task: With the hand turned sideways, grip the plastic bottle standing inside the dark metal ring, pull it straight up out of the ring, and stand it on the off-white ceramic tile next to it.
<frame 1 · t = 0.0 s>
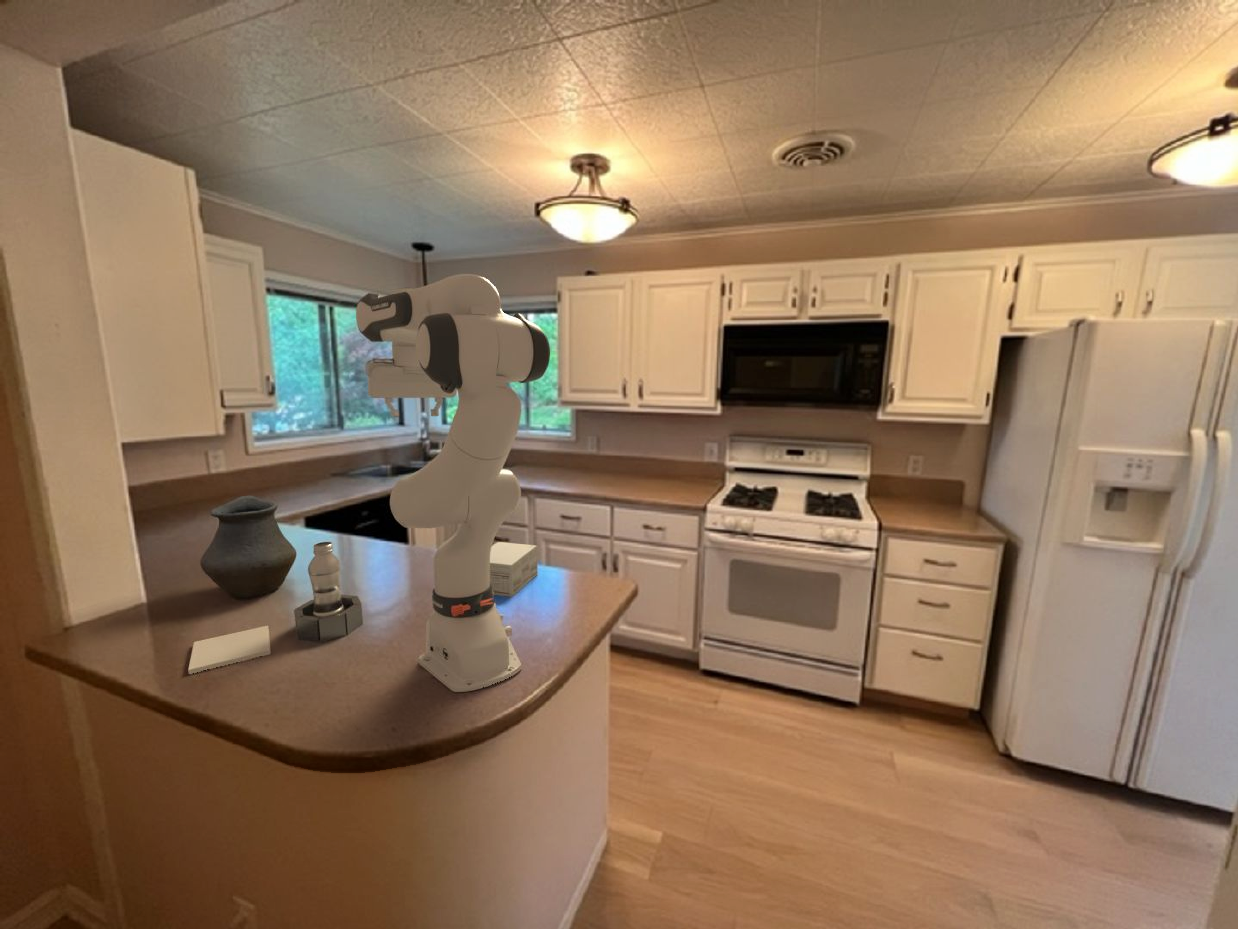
hand: (415, 416, 123), 48 cm above the table, tool pointing down, fingers open, 8 cm apart
plastic bottle: (329, 627, 116), resting in metal ring
supplement box: (504, 584, 143), on the table
metal ring: (329, 627, 116), on the table
ceramic tile: (232, 650, 105), on the table
dark grey clay pot: (254, 591, 136), on the table
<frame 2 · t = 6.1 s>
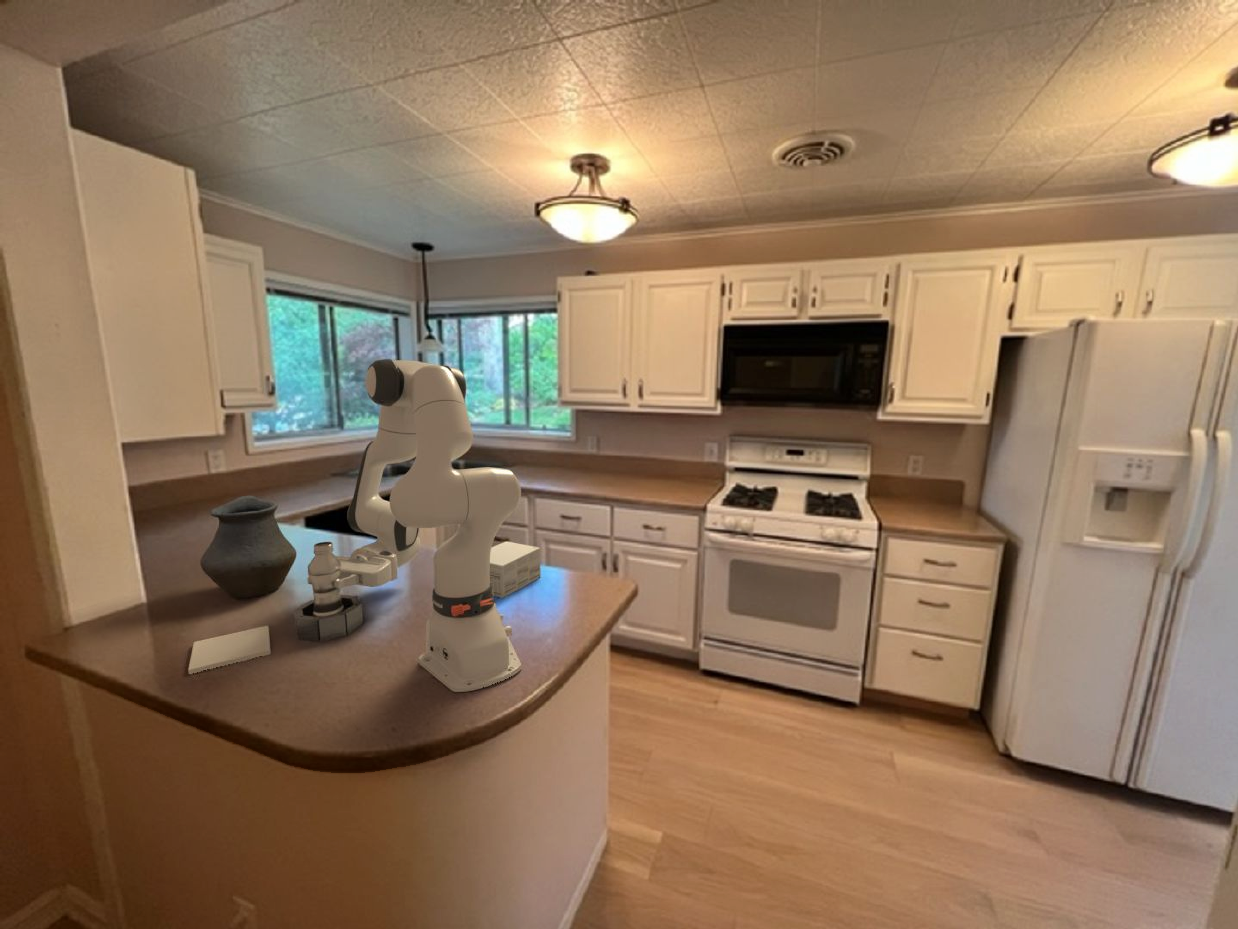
hand: (322, 583, 113), 11 cm above the table, tool horizontal, fingers closed on plastic bottle, 6 cm apart
plastic bottle: (329, 627, 116), resting in metal ring, touching gripper
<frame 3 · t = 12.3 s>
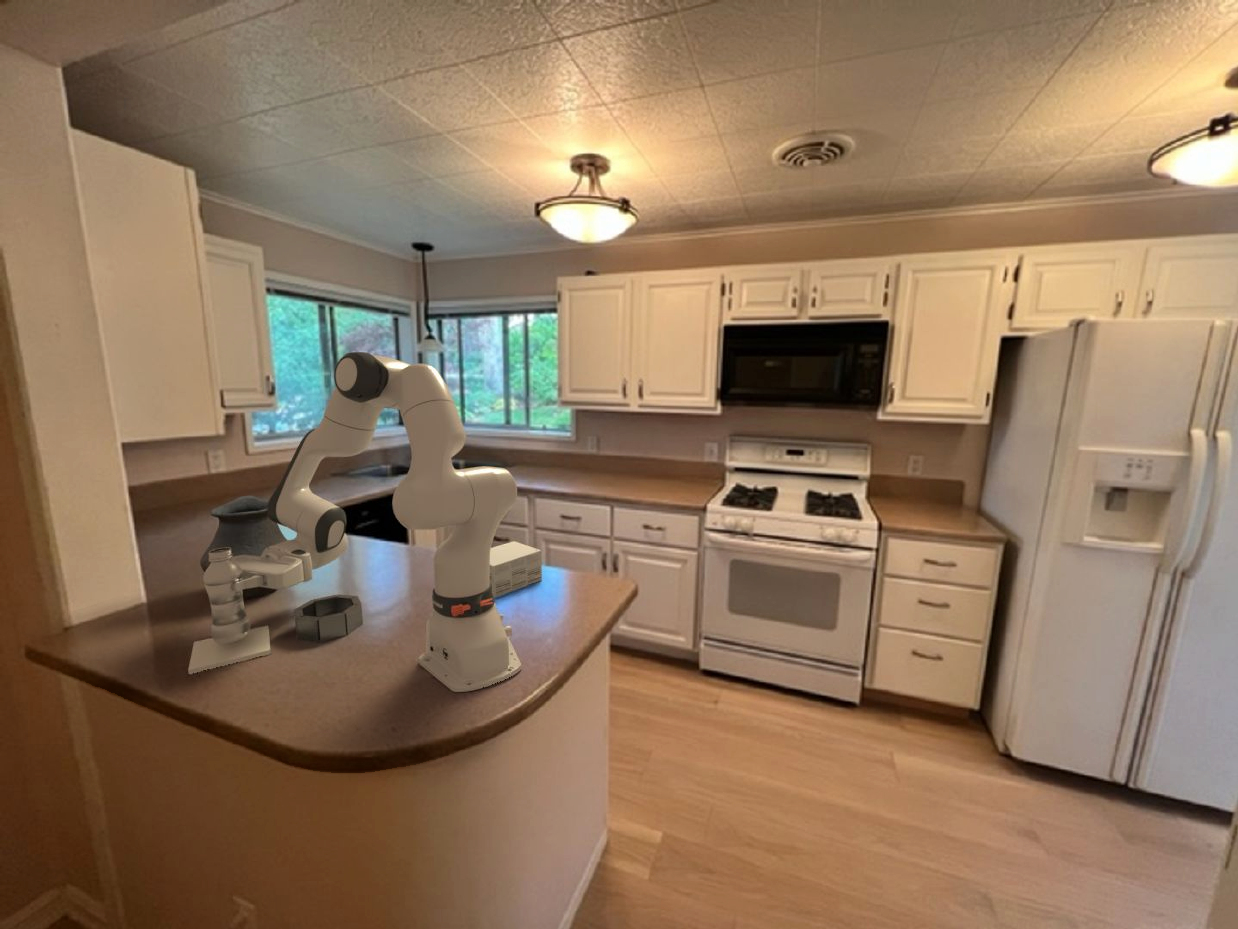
hand: (220, 585, 102), 15 cm above the table, tool horizontal, fingers closed on plastic bottle, 6 cm apart
plastic bottle: (232, 641, 106), point 2 cm above the table, touching gripper
when the fingers open (14 cm above the table, at t = 13.5 s): plastic bottle stays where it is, resting on ceramic tile.
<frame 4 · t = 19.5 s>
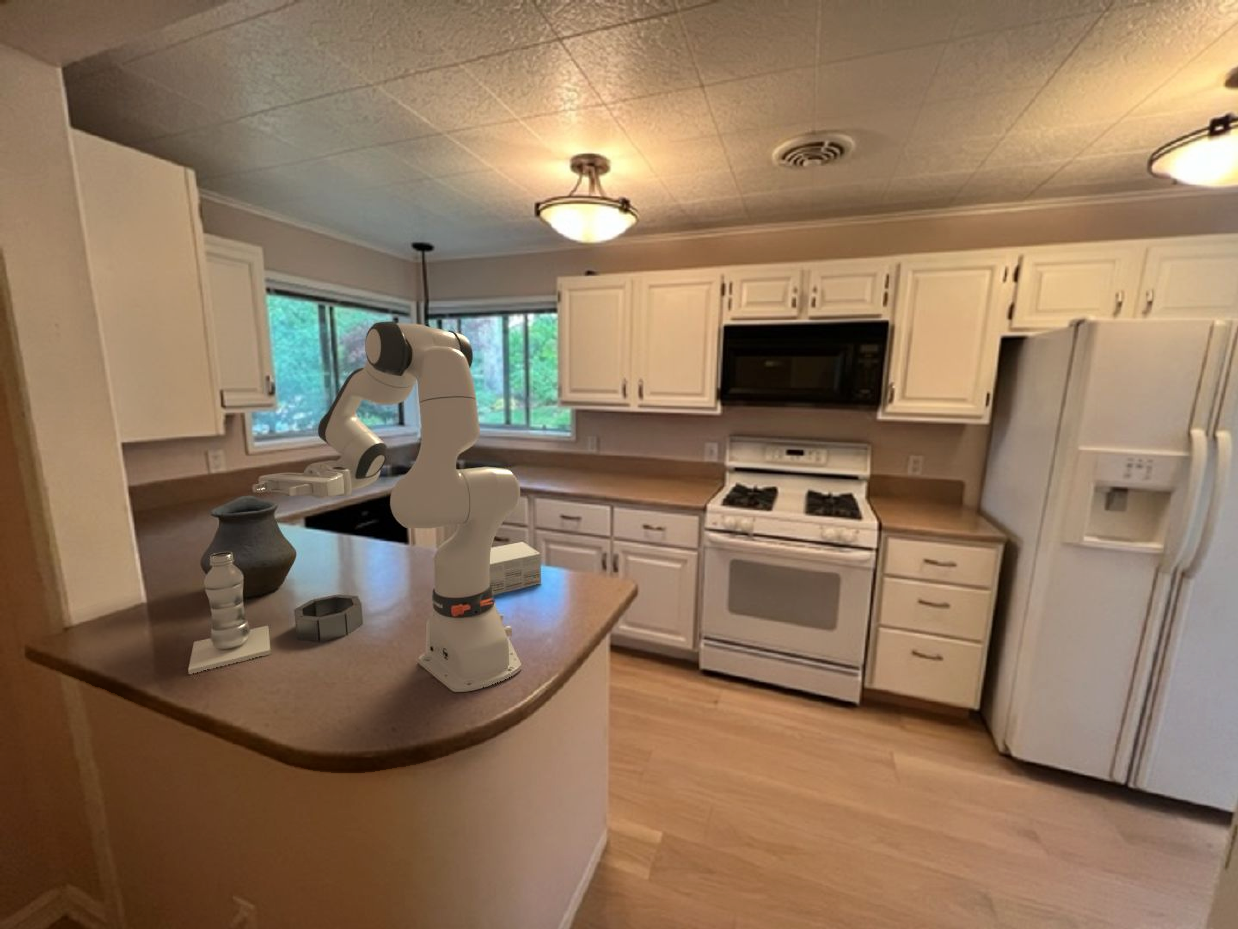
hand: (271, 490, 112), 32 cm above the table, tool horizontal, fingers open, 8 cm apart
plastic bottle: (232, 646, 105), point 1 cm above the table, touching ceramic tile
at the end: plastic bottle inside the target area on the ceramic tile (0.1 cm from its centre), point 0.8 cm above the ceramic tile's base; plastic bottle tilted 0°; the gripper is holding nothing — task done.
